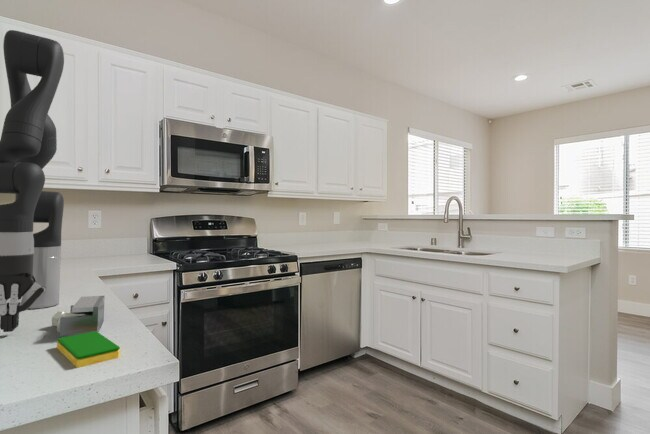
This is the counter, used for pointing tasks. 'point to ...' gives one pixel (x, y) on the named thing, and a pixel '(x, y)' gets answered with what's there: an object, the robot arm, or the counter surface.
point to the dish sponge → (88, 348)
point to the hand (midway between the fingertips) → (9, 330)
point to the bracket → (84, 317)
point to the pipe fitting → (58, 315)
